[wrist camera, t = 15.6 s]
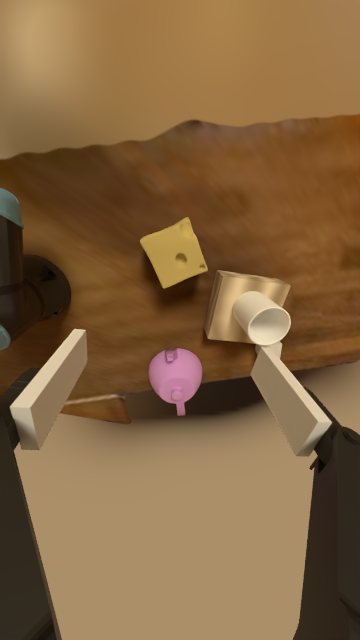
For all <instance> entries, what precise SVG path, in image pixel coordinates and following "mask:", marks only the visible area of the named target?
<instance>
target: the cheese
mask: <svg viewBox="0 0 360 640" xmlns="http://www.w3.org/2000/svg"><path fill="white" fill-rule="evenodd" d="M140 243H141V245H142V247H143V248H144V250H145V252H146V254H147V255H148V257H149V259H150V261H151V263H152V265H153V267H154V270H155V272H156V274H157V276H158V278H159V281H160V283H161V285H162V287H163V289H165V288H167V287H170V286H172V285H174V284H177V283H179V282H181V281H183V280H185V279H187V278H190V277H192V276H195V275H198V274H200V273H203V272H206V271H208V269H207V266H206V263H205V260H204V258H203V255H202V252H201V249H200V246H199V243H198V240H197V237H196V235H195V234H194V232H193V230H192V226H191V223H190V220H189V219H188V218H184V219H182V220H181V221H179V222H178V223H176V224H175V225H173V226H171V227H168V228H166V229H164V230H162V231H159V232H156V233H153V234H150V235H147V236H145V237H143V238H141V240H140Z"/></svg>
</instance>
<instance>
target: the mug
mask: <svg viewBox="0 0 360 640" xmlns="http://www.w3.org/2000/svg"><path fill="white" fill-rule="evenodd" d="M233 314H234V316H235V318H236V320H237V321H238V323H239V324H240V325H241V327H242V328H243V330H244V331H245V332H246V334H247V335H248V336H249V338H250V339H251V340H252V341H253V342H254V343H256V344H258V345H259V346H260V347H266V348H268V347H269V345H271V344H274V343H276V342H278V341H280V340H281V339H282V338H283V337H284V336H285V335H286V334H287V332H288V331H289V328H290V324H291V320H290V316H289V314H288V313H287V312H286V311H285V310H284V309H282V308H281V307H280V306H278V305H277V304H276V303H274V302H273V301H272V300H270V299H269V298H268V297H266V296H265V295H264V294H262V293H260V292H257V291H249V292H246V293H244V294H242V295H241V296H239V297H238V298H237V300H236V301H235V303H234V306H233Z"/></svg>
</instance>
